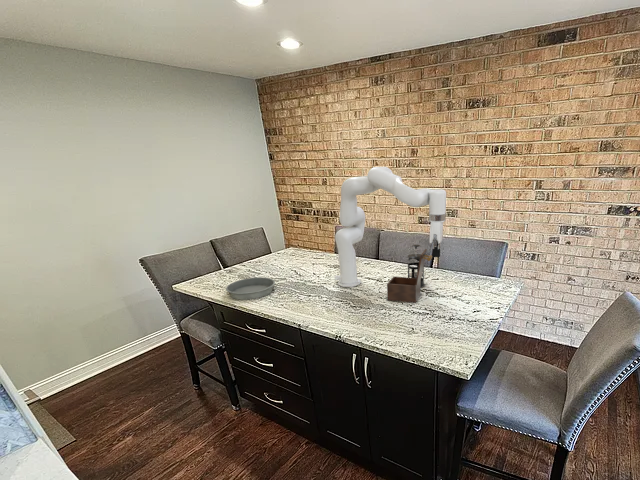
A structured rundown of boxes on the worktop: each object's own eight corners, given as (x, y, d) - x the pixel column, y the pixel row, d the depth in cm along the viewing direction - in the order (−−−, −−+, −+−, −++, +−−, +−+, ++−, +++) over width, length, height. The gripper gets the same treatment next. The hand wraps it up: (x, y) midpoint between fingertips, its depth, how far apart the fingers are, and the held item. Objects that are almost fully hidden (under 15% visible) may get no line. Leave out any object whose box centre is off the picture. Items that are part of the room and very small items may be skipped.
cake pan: (239, 305, 167) (238, 296, 166) (220, 293, 183) (218, 285, 181) (284, 291, 184) (283, 283, 182) (263, 281, 199) (261, 274, 198)
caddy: (387, 300, 170) (387, 283, 167) (393, 292, 180) (393, 276, 177) (415, 302, 166) (415, 286, 163) (420, 294, 177) (420, 278, 173)
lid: (420, 254, 156) (430, 257, 156) (425, 248, 167) (434, 250, 166) (414, 285, 163) (424, 287, 162) (419, 277, 173) (428, 279, 172)
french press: (420, 289, 183) (420, 248, 174) (404, 287, 186) (404, 246, 178) (427, 282, 193) (428, 243, 184) (412, 280, 196) (411, 241, 188)
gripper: (432, 215, 161) (431, 252, 168) (426, 220, 148) (425, 260, 155) (447, 215, 159) (446, 253, 166) (443, 220, 146) (441, 261, 153)
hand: (436, 256), depth 161 cm, fingers closed
